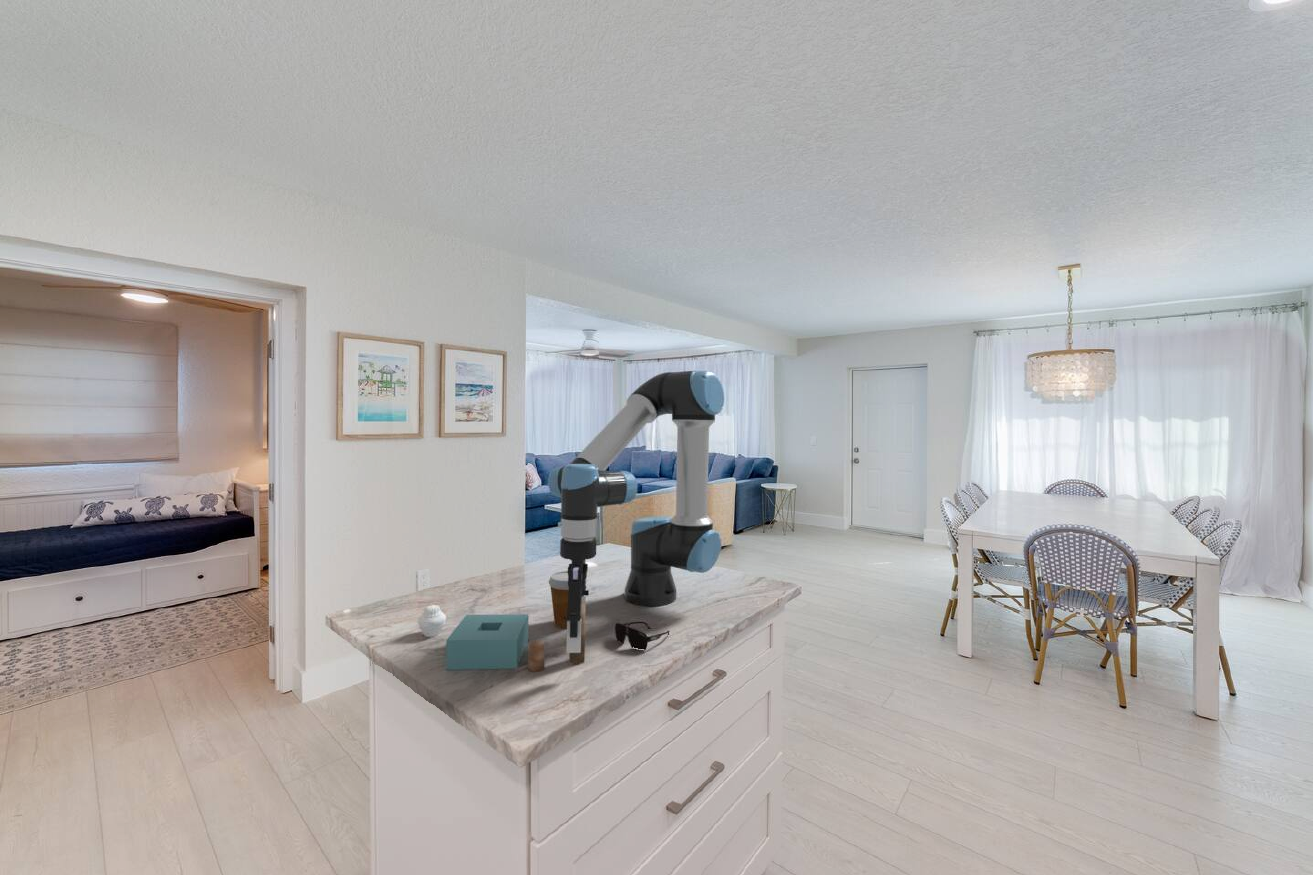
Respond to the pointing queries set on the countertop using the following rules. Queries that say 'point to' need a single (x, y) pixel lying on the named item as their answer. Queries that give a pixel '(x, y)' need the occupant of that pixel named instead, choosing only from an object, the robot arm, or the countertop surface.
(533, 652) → the short pin
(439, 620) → the white ribbed jar
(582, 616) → the tall pin
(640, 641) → the sunglasses
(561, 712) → the countertop surface
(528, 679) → the countertop surface
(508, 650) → the hole block
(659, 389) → the robot arm
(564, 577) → the disposable coffee cup
